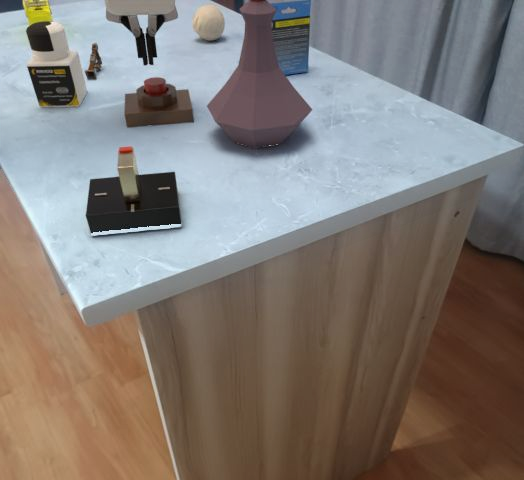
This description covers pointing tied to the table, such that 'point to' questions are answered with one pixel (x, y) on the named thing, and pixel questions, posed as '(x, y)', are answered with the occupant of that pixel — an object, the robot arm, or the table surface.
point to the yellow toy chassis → (37, 10)
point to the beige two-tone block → (128, 174)
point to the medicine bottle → (54, 67)
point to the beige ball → (208, 22)
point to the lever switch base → (133, 203)
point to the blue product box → (292, 36)
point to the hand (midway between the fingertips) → (148, 62)
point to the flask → (258, 87)
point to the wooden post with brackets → (94, 63)
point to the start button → (155, 86)
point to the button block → (158, 107)
